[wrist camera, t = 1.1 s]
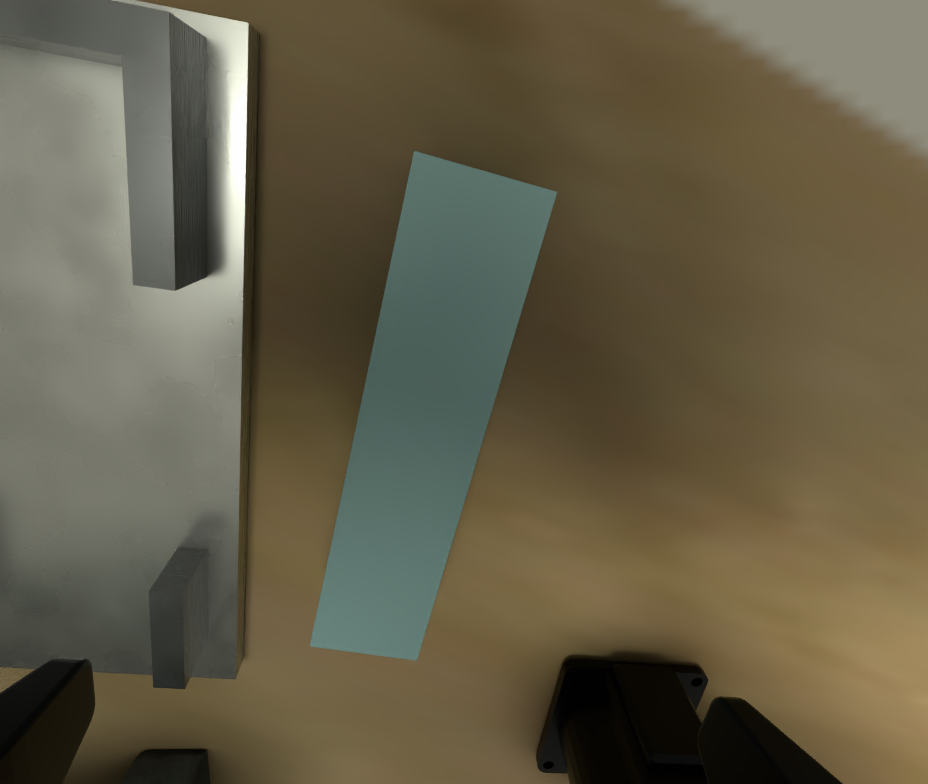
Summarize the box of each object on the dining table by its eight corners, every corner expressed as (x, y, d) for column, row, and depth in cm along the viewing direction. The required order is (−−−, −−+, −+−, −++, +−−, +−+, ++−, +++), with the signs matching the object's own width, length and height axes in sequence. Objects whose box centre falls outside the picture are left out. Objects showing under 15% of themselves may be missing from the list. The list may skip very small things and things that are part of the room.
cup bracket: (243, 658, 22) (215, 732, 19) (-57, 641, 21) (-138, 718, 18) (259, 33, 14) (218, -6, 11) (-212, -61, 13) (-399, -134, 10)
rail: (417, 578, 22) (416, 660, 18) (329, 564, 21) (309, 646, 17) (526, 190, 17) (557, 191, 13) (415, 158, 16) (413, 151, 12)
